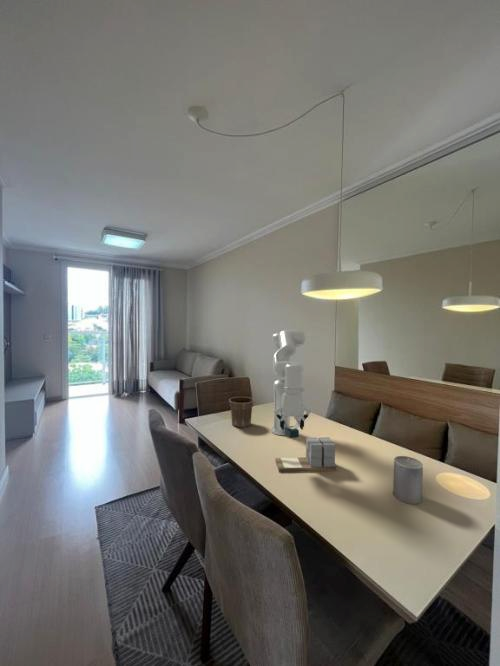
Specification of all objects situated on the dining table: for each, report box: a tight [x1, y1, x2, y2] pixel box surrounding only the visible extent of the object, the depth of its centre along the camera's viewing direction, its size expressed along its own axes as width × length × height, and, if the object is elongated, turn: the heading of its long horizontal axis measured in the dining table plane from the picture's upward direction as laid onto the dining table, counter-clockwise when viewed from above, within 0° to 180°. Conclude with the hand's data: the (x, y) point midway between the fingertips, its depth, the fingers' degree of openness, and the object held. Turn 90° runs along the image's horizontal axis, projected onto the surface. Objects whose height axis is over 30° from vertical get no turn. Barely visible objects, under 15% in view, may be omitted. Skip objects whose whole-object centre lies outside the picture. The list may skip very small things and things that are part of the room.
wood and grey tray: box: [274, 437, 337, 473], centre depth 131 cm, size 10×26×12 cm, turn 94°
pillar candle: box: [392, 455, 424, 505], centre depth 109 cm, size 10×10×15 cm
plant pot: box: [228, 396, 255, 428], centre depth 184 cm, size 16×16×16 cm
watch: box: [283, 416, 301, 439], centre depth 130 cm, size 6×8×11 cm
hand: (291, 428), depth 130 cm, fingers closed on watch, 8 cm apart
